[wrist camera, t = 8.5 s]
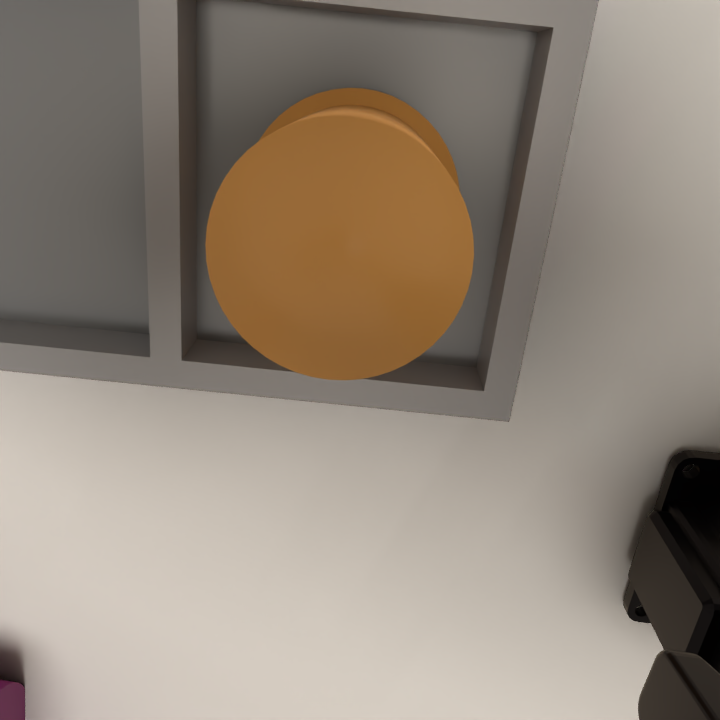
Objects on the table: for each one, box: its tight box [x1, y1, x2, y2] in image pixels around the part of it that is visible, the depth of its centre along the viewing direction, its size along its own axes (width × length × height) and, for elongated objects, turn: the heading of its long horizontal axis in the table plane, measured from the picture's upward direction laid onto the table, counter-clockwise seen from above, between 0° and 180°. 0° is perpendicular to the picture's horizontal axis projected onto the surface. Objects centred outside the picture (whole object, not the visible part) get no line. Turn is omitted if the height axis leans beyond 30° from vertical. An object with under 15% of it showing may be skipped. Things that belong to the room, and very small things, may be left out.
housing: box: [0, 0, 599, 422], centre depth 16 cm, size 18×10×2 cm, turn 84°
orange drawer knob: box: [205, 88, 474, 380], centre depth 14 cm, size 5×5×6 cm
